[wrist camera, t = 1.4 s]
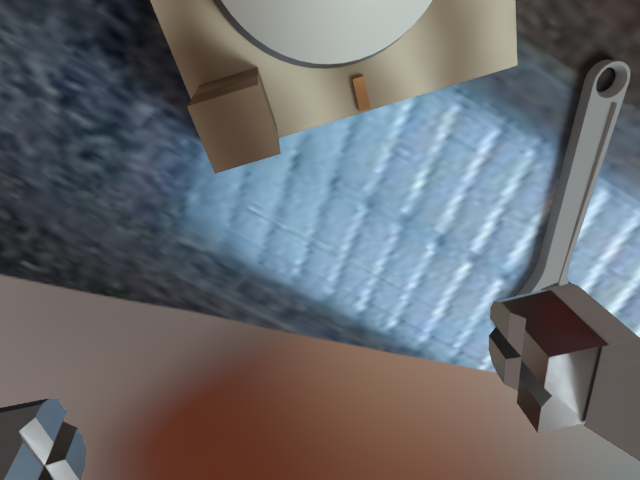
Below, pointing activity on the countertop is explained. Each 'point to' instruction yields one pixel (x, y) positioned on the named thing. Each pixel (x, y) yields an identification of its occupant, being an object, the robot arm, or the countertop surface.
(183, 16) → the panel
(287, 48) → the dial
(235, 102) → the block
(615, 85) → the adjustable wrench
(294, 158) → the countertop surface
